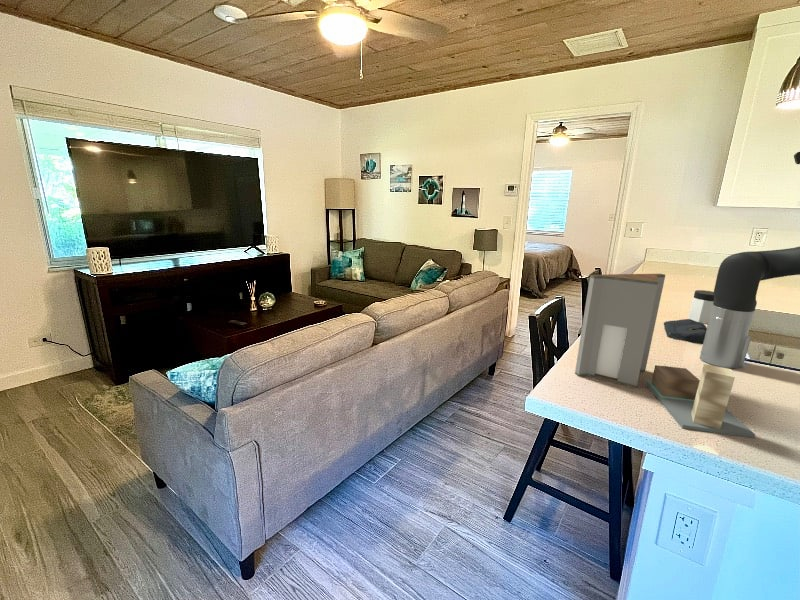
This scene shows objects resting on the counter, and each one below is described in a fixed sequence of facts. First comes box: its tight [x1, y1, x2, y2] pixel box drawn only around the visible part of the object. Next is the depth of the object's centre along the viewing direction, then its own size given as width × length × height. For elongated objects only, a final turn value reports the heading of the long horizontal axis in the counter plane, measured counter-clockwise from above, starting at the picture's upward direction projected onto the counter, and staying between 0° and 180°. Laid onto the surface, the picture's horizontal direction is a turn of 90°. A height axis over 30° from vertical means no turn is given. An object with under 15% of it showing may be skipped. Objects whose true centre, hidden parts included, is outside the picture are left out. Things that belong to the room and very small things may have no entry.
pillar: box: [692, 363, 736, 429], centre depth 79 cm, size 4×4×12 cm
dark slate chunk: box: [663, 318, 707, 345], centre depth 136 cm, size 15×22×5 cm
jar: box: [687, 289, 714, 325], centre depth 150 cm, size 9×8×12 cm
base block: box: [650, 364, 700, 400], centre depth 92 cm, size 7×7×5 cm
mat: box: [645, 380, 756, 439], centre depth 87 cm, size 13×20×1 cm, turn 167°
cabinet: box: [574, 273, 666, 389], centre depth 97 cm, size 21×10×28 cm, turn 100°
